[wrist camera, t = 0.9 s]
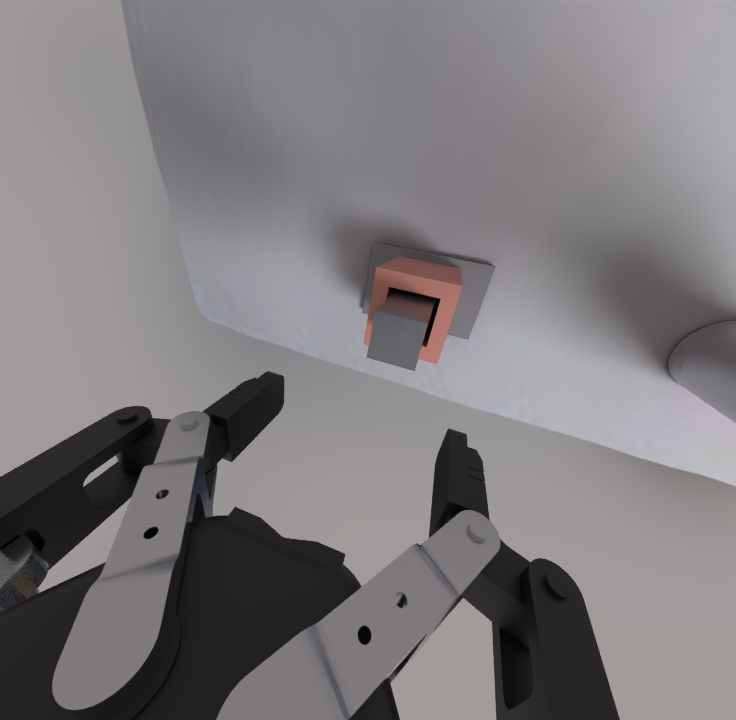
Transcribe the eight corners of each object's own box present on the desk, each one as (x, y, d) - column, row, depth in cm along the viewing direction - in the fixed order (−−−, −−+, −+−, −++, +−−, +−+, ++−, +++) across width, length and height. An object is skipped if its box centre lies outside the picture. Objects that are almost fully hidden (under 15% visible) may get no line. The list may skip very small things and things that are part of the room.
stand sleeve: (493, 265, 34) (517, 286, 21) (467, 335, 39) (474, 388, 26) (375, 241, 37) (333, 248, 24) (364, 310, 42) (324, 345, 29)
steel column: (440, 281, 35) (428, 323, 19) (432, 310, 37) (414, 371, 21) (410, 274, 36) (374, 310, 20) (403, 303, 38) (366, 357, 22)
